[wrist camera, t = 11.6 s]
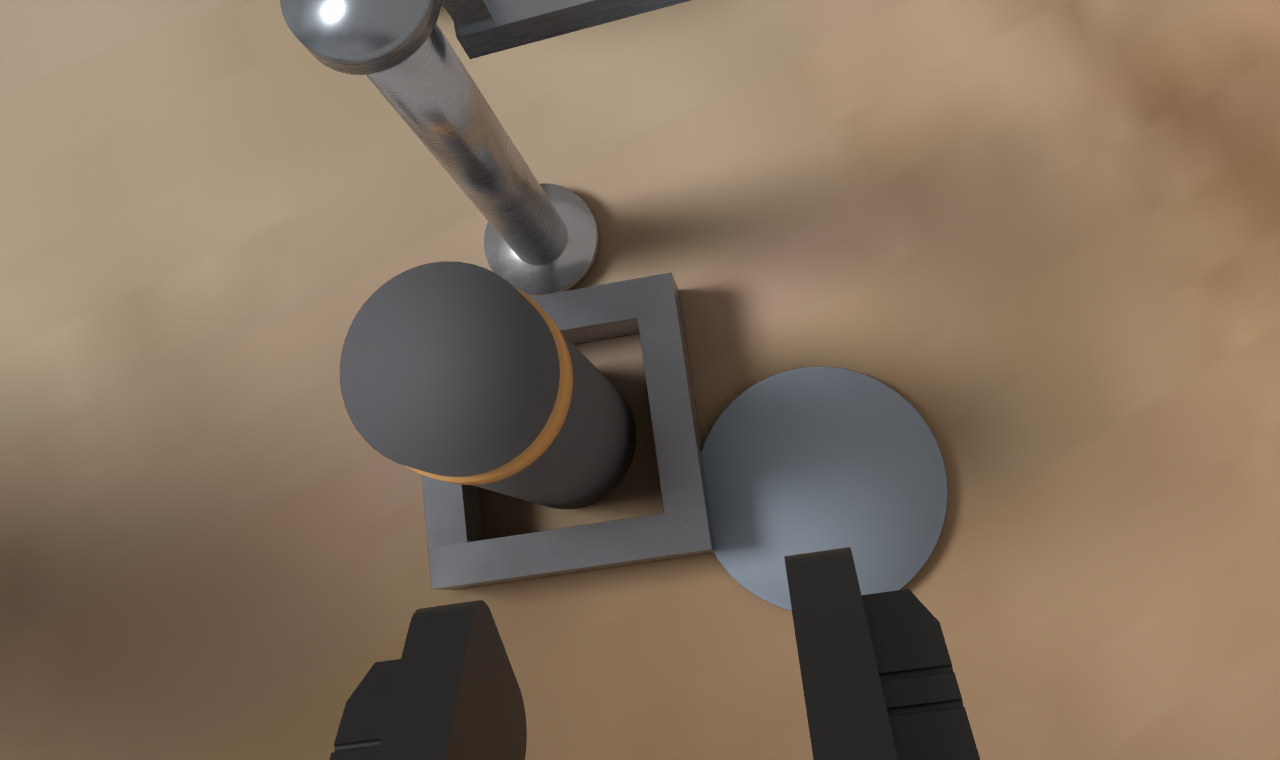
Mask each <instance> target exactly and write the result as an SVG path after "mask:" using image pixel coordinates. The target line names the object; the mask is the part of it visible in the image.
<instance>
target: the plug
mask: <svg viewBox="0 0 1280 760" xmlns="http://www.w3.org/2000/svg"><path fill="white" fill-rule="evenodd" d="M340 384H341V391H342V396H343V400H344V403H345V407H346V409H347V411H348V414H349V416H350V419H351V420H352V422H353V424H354V425H355V427H356V429H357V430H358V432H359V433H360V434H361V435H362V437H363V438H364V439H365V440H366V441H367V442H368V443H369V444H370V445H371V446H372V447H373V448H374V449H375V450H377V451H378V452H380V453H381V454H382V455H384V456H385V457H387V458H389V459H391V460H393V461H395V462H397V463H399V464H402V465H404V466H406V467H407V468H409V469H411V470H413V471H415V472H417V473H419V474H421V475H424V476H427V477H430V478H433V479H437V480H441V481H444V482H449V483H454V484H462V485H473V486H477V487H480V488H484V489H487V490H491V491H494V492H498V493H501V494H505V495H508V496H512V497H515V498H519V499H522V500H526V501H529V502H533V503H536V504H540V505H543V506H547V507H552V508H559V509H570V508H578V507H582V506H585V505H588V504H591V503H593V502H595V501H597V500H599V499H601V498H602V497H604V496H605V495H607V494H608V493H609V492H610V491H612V490H613V489H614V488H615V487H616V486H617V485H618V483H619V482H620V481H621V480H622V478H623V477H624V475H625V474H626V472H627V470H628V468H629V466H630V464H631V461H632V458H633V455H634V450H635V444H636V428H635V423H634V418H633V415H632V412H631V409H630V407H629V405H628V403H627V401H626V400H625V398H624V397H623V395H622V394H621V393H620V392H619V390H618V389H617V388H616V387H615V386H614V385H613V384H612V383H611V382H610V381H609V380H608V379H607V378H606V377H605V376H604V375H603V374H602V373H601V372H600V371H599V370H598V369H597V368H596V367H595V366H594V365H593V364H592V363H591V362H590V361H589V360H588V359H587V358H586V357H585V356H584V355H583V354H582V353H581V352H580V351H579V350H577V349H576V348H575V347H574V346H573V345H572V344H571V343H570V342H569V341H568V340H567V339H566V338H565V337H564V336H563V335H562V334H561V332H560V330H559V329H558V327H557V326H556V324H555V323H554V321H553V320H552V319H551V318H550V317H549V316H548V314H547V313H546V312H545V311H544V310H543V309H542V308H541V307H540V306H539V305H538V304H537V303H536V302H535V301H534V300H533V299H531V298H530V297H529V296H528V295H527V294H526V293H524V292H522V291H521V290H519V289H518V288H516V287H515V286H512V285H511V284H510V283H509V282H508V281H507V280H505V279H504V278H502V277H500V276H499V275H497V274H496V273H494V272H492V271H489V270H487V269H485V268H483V267H479V266H476V265H473V264H468V263H462V262H436V263H429V264H425V265H421V266H417V267H415V268H412V269H409V270H407V271H405V272H403V273H401V274H399V275H397V276H395V277H394V278H392V279H391V280H389V281H388V282H386V283H385V284H383V285H382V286H381V287H380V288H379V289H378V290H377V291H375V292H374V293H373V294H372V295H371V296H370V298H369V299H368V300H367V301H366V302H365V303H364V305H363V306H362V307H361V309H360V310H359V312H358V313H357V315H356V316H355V318H354V320H353V322H352V324H351V326H350V328H349V330H348V333H347V336H346V338H345V341H344V345H343V350H342V354H341V362H340Z"/></svg>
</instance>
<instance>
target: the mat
mask: <svg viewBox="0 0 1280 760" xmlns="http://www.w3.org/2000/svg"><path fill="white" fill-rule="evenodd" d="M701 454H702V461H703V468H704V475H705V481H706V488H707V495H708V502H709V509H710V516H711V522H712V529H713V536H714V543H715V550H716V551H715V552H714V554H715V556H716V557H717V559H718V560H719V562H720V563H721V564H722V566H723V567H724V568H725V569H726V570H727V572H728V573H729V574H730V575H731V576H732V577H733V578H734V579H735V580H736V581H737V582H738V583H740V584H741V585H742V586H743V587H744V588H746V589H747V590H749V591H750V592H751V593H753V594H754V595H755V596H757V597H759V598H761V599H763V600H765V601H767V602H768V603H770V604H773V605H776V606H778V607H781V608H784V609H786V610H790V611H792V607H791V600H790V593H789V586H788V580H787V573H786V566H785V558H784V556H790V555H797V554H804V553H811V552H818V551H825V550H832V549H839V548H846V547H850V548H851V551H852V555H853V559H854V564H855V568H856V573H857V577H858V582H859V586H860V591H861V595H867V594H875V593H882V592H889V591H896V590H900V589H901V588H902V587H903V586H904V585H906V584H907V583H908V582H909V581H910V580H911V579H912V578H913V577H914V576H915V575H916V574H917V573H918V572H919V570H920V569H921V568H922V567H923V565H924V564H925V562H926V561H927V560H928V558H929V557H930V555H931V554H932V551H933V549H934V547H935V545H936V543H937V541H938V539H939V536H940V533H941V530H942V527H943V524H944V520H945V514H946V509H947V493H948V489H947V477H946V471H945V466H944V462H943V458H942V455H941V452H940V449H939V447H938V444H937V442H936V440H935V438H934V436H933V434H932V432H931V430H930V428H929V427H928V425H927V424H926V422H925V421H924V420H923V418H922V417H921V415H920V414H919V413H918V412H917V411H916V410H915V409H914V408H913V406H912V405H911V404H910V403H909V402H908V401H907V400H905V399H904V398H903V397H902V396H901V395H899V394H898V393H897V392H896V391H894V390H893V389H891V388H890V387H888V386H887V385H885V384H883V383H882V382H880V381H878V380H876V379H873V378H871V377H869V376H867V375H864V374H861V373H858V372H855V371H852V370H847V369H842V368H836V367H822V366H817V367H803V368H798V369H792V370H787V371H784V372H781V373H778V374H775V375H772V376H770V377H768V378H766V379H764V380H762V381H760V382H758V383H756V384H755V385H753V386H752V387H750V388H748V389H747V390H745V391H744V392H743V393H742V394H741V395H739V396H738V397H737V398H736V399H735V400H733V401H732V402H731V404H730V405H729V406H728V407H727V408H726V409H725V410H724V411H723V412H722V414H721V415H720V417H719V418H718V419H717V421H716V422H715V424H714V425H713V427H712V429H711V431H710V433H709V435H708V436H707V438H706V441H705V443H704V446H703V449H702V452H701Z"/></svg>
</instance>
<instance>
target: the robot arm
mask: <svg viewBox="0 0 1280 760" xmlns="http://www.w3.org/2000/svg"><path fill="white" fill-rule="evenodd" d="M784 558H785V566H786V573H787V580H788V586H789V593H790V600H791V607H792V614H793V621H794V628H795V634H796V641H797V648H798V655H799V662H800V669H801V676H802V683H803V689H804V696H805V703H806V710H807V717H808V724H809V731H810V737H811V744H812V751H813V758H814V760H980V758H979V754H978V751H977V748H976V744H975V741H974V737H973V734H972V731H971V727H970V724H969V721H968V717H967V714H966V710H965V707H963V702H962V697H961V694H960V690H959V687H958V684H957V680H956V677H955V673H953V669H952V663H951V660H950V657H949V653H948V650H947V646H946V643H945V640H944V636H943V633H942V630H941V626H940V623H939V621H938V620H937V619H936V618H935V617H934V616H933V615H932V614H931V613H930V612H929V611H928V609H927V608H926V607H925V606H924V605H923V604H922V603H921V602H920V601H919V600H918V599H917V597H916V596H915V595H914V594H913V593H912V592H911V591H910V590H909V589H904V590H896V591H889V592H882V593H875V594H867V595H861V591H860V586H859V582H858V577H857V573H856V568H855V564H854V559H853V555H852V551H851V548H850V547H846V548H839V549H832V550H825V551H818V552H811V553H804V554H797V555H790V556H784ZM526 739H527V733H526V717H525V709H524V703H523V699H522V695H521V691H520V688H519V685H518V683H517V680H516V677H515V675H514V672H513V670H512V667H511V664H510V662H509V659H508V656H507V654H506V651H505V648H504V646H503V643H502V641H501V638H500V635H499V633H498V630H497V627H496V625H495V622H494V619H493V617H492V614H491V612H490V609H489V607H488V606H487V604H486V603H485V602H484V601H482V600H479V601H472V602H465V603H458V604H451V605H443V606H436V607H429V608H422V609H418V610H416V612H415V613H414V614H413V616H412V619H411V622H410V626H409V630H408V634H407V638H406V642H405V646H404V650H403V654H402V658H401V659H398V660H391V661H384V662H376V663H375V664H374V665H373V666H372V668H371V669H370V670H369V672H368V673H367V675H366V676H365V677H364V679H363V680H362V681H361V683H360V684H359V686H358V687H357V688H356V690H355V691H354V692H353V694H352V695H351V697H350V698H349V699H348V701H347V702H346V705H345V709H344V712H343V716H342V719H341V722H340V726H339V729H338V733H337V736H336V739H335V743H334V746H335V752H334V753H331V757H330V760H525V753H526Z"/></svg>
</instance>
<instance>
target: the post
mask: <svg viewBox="0 0 1280 760" xmlns="http://www.w3.org/2000/svg"><path fill="white" fill-rule="evenodd" d="M366 75H367V77H368V78H369V79H370V80H371V81H372V83H373V84H374V85H375V86H376V87H377V89H378V90H379V91H380V92H381V93H382V95H383V96H384V97H385V98H386V99H387V101H388V102H389V103H390V104H391V105H392V107H393V108H394V109H395V110H396V111H397V113H398V114H399V115H400V116H401V117H402V118H403V120H404V121H405V122H406V123H407V124H408V126H409V127H410V128H411V129H412V130H413V132H414V133H415V134H416V135H417V136H418V138H419V139H420V140H421V141H422V142H423V144H424V145H425V146H426V147H427V148H428V150H429V151H430V152H431V153H432V154H433V156H434V157H435V158H436V159H437V160H438V162H439V163H440V164H441V165H442V166H443V168H444V169H445V170H446V171H447V172H448V173H449V175H450V176H451V177H452V178H453V179H454V181H455V182H456V183H457V184H458V185H459V187H460V188H461V189H462V190H463V191H464V193H465V194H466V195H467V196H468V197H469V199H470V200H471V201H472V202H473V203H474V205H475V206H476V207H477V208H478V209H479V211H480V212H481V213H482V214H483V215H484V217H485V218H486V219H487V220H488V224H487V227H486V230H485V237H484V248H485V254H486V258H487V261H488V263H489V265H490V267H491V269H492V270H493V272H494V273H496V274H497V275H499V276H500V277H502V278H504V279H505V280H507V281H508V282H509V283H510V284H511V285H512V286H515V287H516V288H518V289H519V290H521V291H522V292H524V293H526V294H527V295H528V296H529V297H534V296H540V295H546V294H551V293H557V292H563V291H569V290H571V289H573V288H574V287H576V286H577V285H578V284H579V283H580V282H582V281H583V279H584V278H585V277H586V276H587V275H588V273H589V272H590V271H591V269H592V267H593V265H594V263H595V261H596V258H597V255H598V251H599V243H600V239H599V230H598V226H597V223H596V220H595V218H594V216H593V214H592V212H591V211H590V209H589V207H588V206H587V204H586V203H585V202H584V201H583V200H582V199H581V198H580V197H579V196H578V195H577V194H575V193H574V192H572V191H571V190H569V189H567V188H565V187H562V186H559V185H554V184H539V183H538V181H537V179H536V178H535V176H534V175H533V173H532V172H531V170H530V169H529V167H528V165H527V164H526V162H525V161H524V159H523V158H522V156H521V154H520V153H519V151H518V150H517V148H516V147H515V145H514V144H513V142H512V140H511V139H510V137H509V136H508V134H507V133H506V131H505V129H504V128H503V126H502V125H501V123H500V122H499V120H498V119H497V117H496V115H495V114H494V112H493V111H492V109H491V108H490V106H489V104H488V103H487V101H486V100H485V98H484V97H483V95H482V94H481V92H480V90H479V89H478V87H477V86H476V84H475V83H474V81H473V79H472V78H471V76H470V75H469V73H468V72H467V70H466V69H465V67H464V65H463V64H462V62H461V61H460V59H459V58H458V56H457V54H456V53H455V51H454V50H453V48H452V47H451V45H450V44H449V42H448V40H447V39H446V37H445V36H444V34H443V33H442V31H441V29H440V28H439V26H438V25H437V23H436V24H435V26H434V28H433V30H432V32H431V34H430V35H429V37H428V39H427V40H426V41H425V42H424V44H423V45H422V46H421V47H420V48H419V49H418V50H417V51H416V52H415V53H414V54H413V55H412V56H410V57H409V58H408V59H407V60H405V61H403V62H402V63H400V64H398V65H396V66H394V67H392V68H390V69H388V70H384V71H381V72H378V73H373V74H366Z"/></svg>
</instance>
